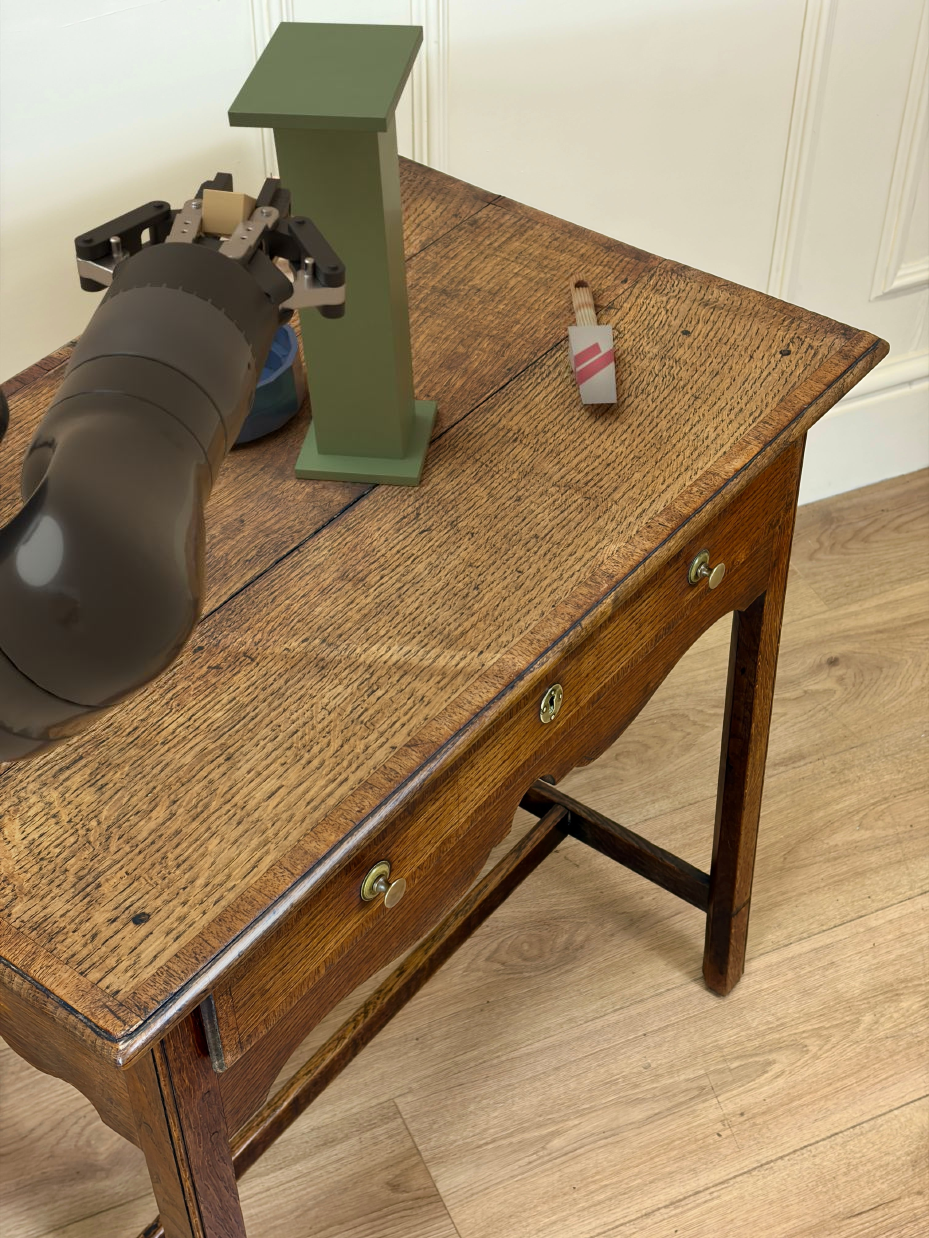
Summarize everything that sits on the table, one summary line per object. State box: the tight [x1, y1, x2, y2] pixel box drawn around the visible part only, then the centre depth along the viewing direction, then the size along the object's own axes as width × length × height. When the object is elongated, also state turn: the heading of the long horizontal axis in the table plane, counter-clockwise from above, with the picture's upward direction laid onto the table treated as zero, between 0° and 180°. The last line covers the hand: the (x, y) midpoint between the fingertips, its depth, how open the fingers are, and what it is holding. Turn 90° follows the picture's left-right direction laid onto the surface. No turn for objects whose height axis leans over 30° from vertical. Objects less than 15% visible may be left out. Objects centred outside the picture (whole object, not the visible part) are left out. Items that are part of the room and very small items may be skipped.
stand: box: [227, 21, 439, 487], centre depth 96 cm, size 10×14×31 cm
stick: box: [201, 189, 295, 240], centre depth 73 cm, size 21×2×2 cm
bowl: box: [232, 323, 307, 446], centre depth 109 cm, size 13×13×6 cm
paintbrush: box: [567, 272, 618, 405], centre depth 114 cm, size 4×3×20 cm
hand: (250, 193), depth 69 cm, fingers closed on stick, 2 cm apart
